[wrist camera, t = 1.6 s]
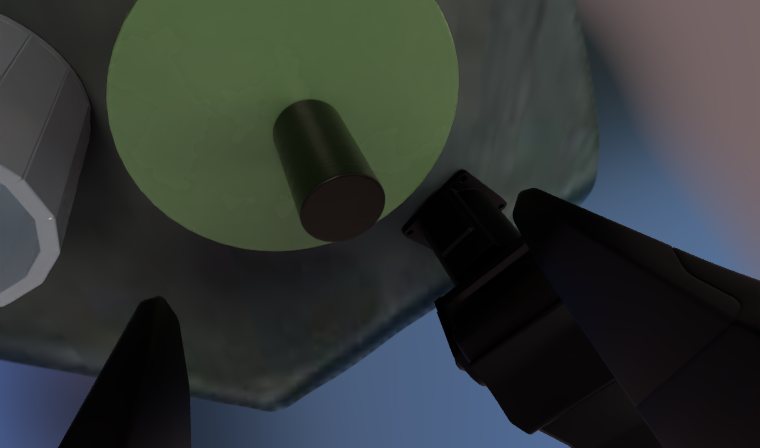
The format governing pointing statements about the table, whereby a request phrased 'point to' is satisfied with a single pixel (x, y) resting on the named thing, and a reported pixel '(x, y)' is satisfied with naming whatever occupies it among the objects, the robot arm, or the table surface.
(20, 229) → the cup
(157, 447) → the robot arm
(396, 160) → the lid
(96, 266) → the table surface
